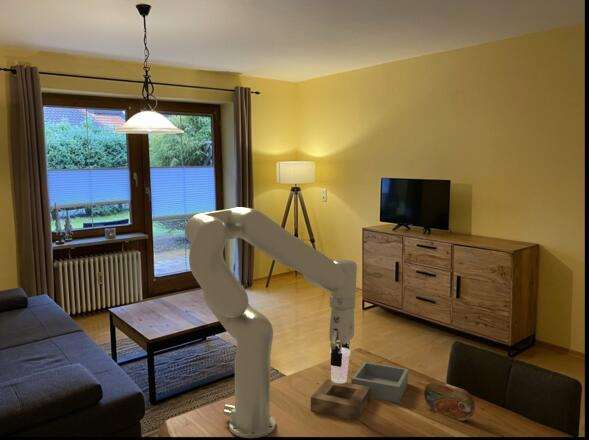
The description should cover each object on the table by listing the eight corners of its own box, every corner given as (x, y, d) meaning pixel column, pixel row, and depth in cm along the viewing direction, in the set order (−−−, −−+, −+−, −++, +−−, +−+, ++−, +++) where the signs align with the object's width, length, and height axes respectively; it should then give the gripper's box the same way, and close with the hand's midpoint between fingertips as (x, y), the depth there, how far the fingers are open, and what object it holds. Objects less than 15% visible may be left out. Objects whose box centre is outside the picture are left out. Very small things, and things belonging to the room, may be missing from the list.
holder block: (310, 410, 138) (310, 397, 138) (326, 391, 151) (327, 378, 151) (357, 420, 133) (357, 406, 132) (370, 399, 145) (370, 387, 145)
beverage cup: (324, 380, 140) (326, 333, 139) (336, 374, 145) (338, 329, 144) (341, 386, 136) (343, 338, 136) (353, 380, 141) (355, 333, 140)
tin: (423, 406, 142) (424, 378, 141) (429, 403, 144) (430, 376, 143) (470, 426, 130) (471, 396, 130) (476, 422, 133) (477, 393, 132)
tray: (351, 393, 149) (351, 378, 149) (363, 375, 163) (364, 361, 163) (398, 402, 143) (399, 387, 143) (408, 383, 157) (408, 369, 157)
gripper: (345, 310, 130) (342, 374, 131) (362, 297, 146) (360, 355, 147) (319, 306, 133) (317, 369, 134) (339, 294, 149) (337, 351, 150)
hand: (339, 361), depth 140 cm, fingers closed on beverage cup, 6 cm apart
